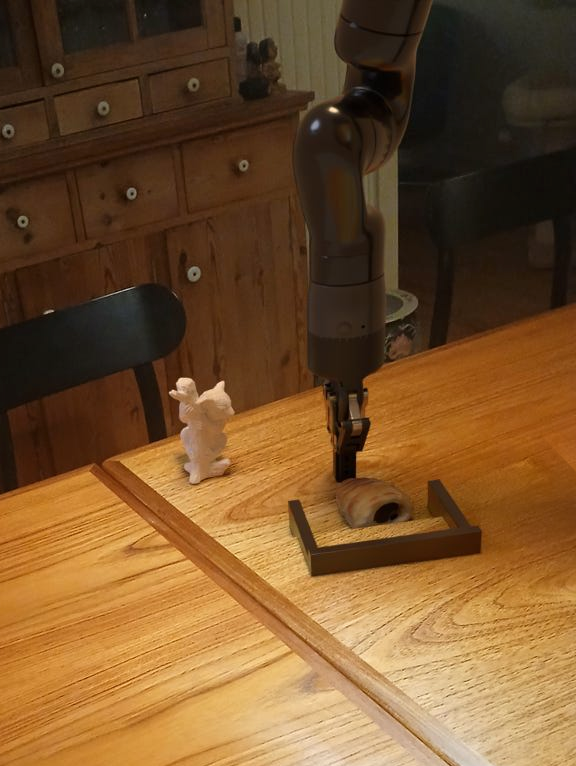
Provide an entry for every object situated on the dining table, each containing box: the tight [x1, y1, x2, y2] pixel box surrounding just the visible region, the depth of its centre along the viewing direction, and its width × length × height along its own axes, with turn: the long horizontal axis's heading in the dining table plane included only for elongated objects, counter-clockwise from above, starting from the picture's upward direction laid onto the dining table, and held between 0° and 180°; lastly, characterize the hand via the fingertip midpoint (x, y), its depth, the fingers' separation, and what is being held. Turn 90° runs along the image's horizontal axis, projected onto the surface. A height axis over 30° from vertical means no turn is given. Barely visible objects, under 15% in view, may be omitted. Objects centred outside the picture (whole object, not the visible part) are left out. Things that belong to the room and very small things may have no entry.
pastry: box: [334, 477, 415, 530], centre depth 102 cm, size 9×7×4 cm
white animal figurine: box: [168, 377, 236, 485], centre depth 114 cm, size 8×7×12 cm
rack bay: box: [287, 478, 483, 577], centre depth 96 cm, size 15×13×4 cm
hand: (344, 479), depth 107 cm, fingers closed
